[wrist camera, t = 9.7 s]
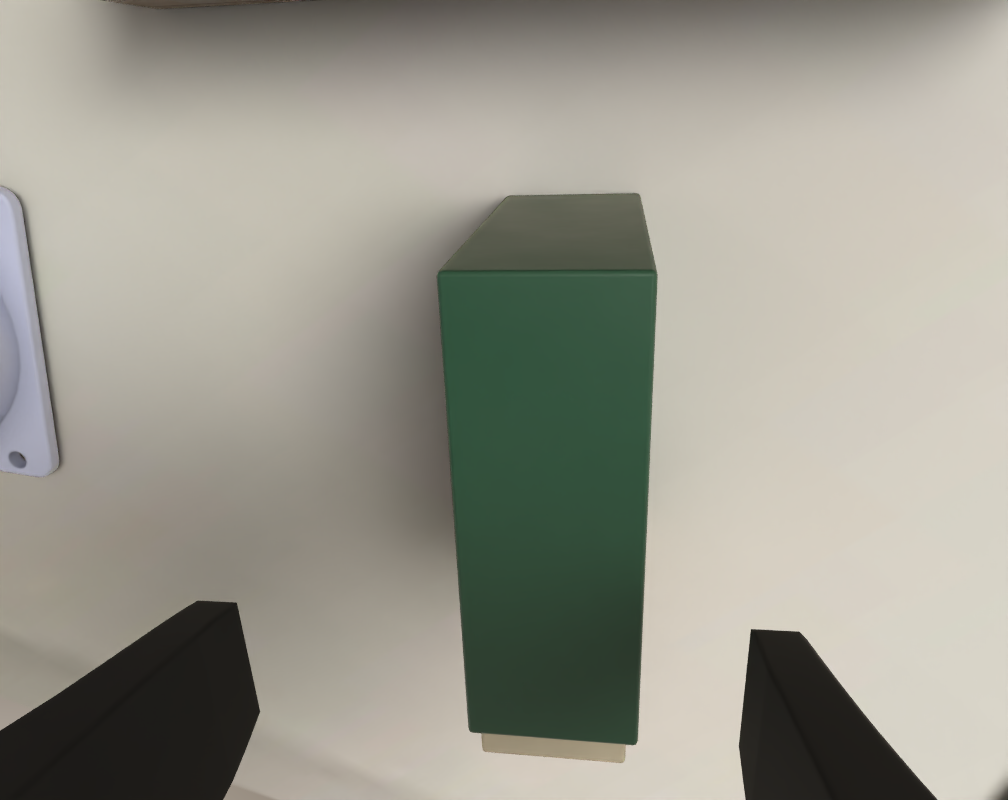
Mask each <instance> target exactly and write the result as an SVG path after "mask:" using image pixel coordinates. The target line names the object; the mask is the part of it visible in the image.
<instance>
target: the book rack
mask: <svg viewBox="0 0 1008 800" xmlns="http://www.w3.org/2000/svg"><path fill="white" fill-rule="evenodd" d="M103 1H109V2H116V3H122V4H129V5H135V6H142V7H148V8H155V9H167V8H185V7H203V6H221V5H239V4H257V3H275V2H293V1H311V0H103Z"/></svg>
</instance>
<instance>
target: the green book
mask: <svg viewBox="0 0 1008 800" xmlns="http://www.w3.org/2000/svg"><path fill="white" fill-rule="evenodd" d="M437 286H438V301H439V315H440V329H441V343H442V357H443V372H444V386H445V400H446V414H447V428H448V443H449V457H450V471H451V485H452V499H453V514H454V528H455V542H456V556H457V570H458V585H459V599H460V613H461V627H462V641H463V656H464V670H465V684H466V698H467V713H468V727H469V730H470V732H473V733H481V734H482V748H483V750H484V751H485V752H495V753H507V754H519V755H531V756H543V757H555V758H567V759H579V760H592V761H604V762H616V763H623V762H624V760H625V748H626V745H636V743H637V741H638V722H639V699H640V675H641V652H642V628H643V605H644V581H645V557H646V534H647V510H648V487H649V463H650V440H651V416H652V393H653V369H654V346H655V322H656V299H657V271H656V266H655V261H654V257H653V252H652V248H651V243H650V238H649V234H648V229H647V225H646V220H645V216H644V211H643V206H642V202H641V197H640V195H639V194H637V193H633V194H578V195H523V196H508V197H506V198H505V200H504V201H503V202H502V203H501V204H500V205H499V206H498V207H497V208H496V209H495V210H494V212H493V213H492V214H491V215H490V216H489V217H488V218H487V219H486V220H485V221H484V222H483V224H482V225H481V226H480V227H479V228H478V229H477V230H476V231H475V232H474V233H473V234H472V236H471V237H470V238H469V239H468V240H467V241H466V242H465V243H464V244H463V245H462V246H461V248H460V249H459V250H458V251H457V252H456V253H455V254H454V255H453V256H452V257H451V258H450V260H449V261H448V262H447V263H446V264H445V265H444V266H443V267H442V268H441V269H440V270H439V272H438V274H437Z"/></svg>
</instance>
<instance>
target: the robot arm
mask: <svg viewBox="0 0 1008 800" xmlns="http://www.w3.org/2000/svg"><path fill="white" fill-rule="evenodd" d="M19 453H21V454H22V455H23V456H24V457H25V459H26V460H24V459H23V458H22V457H21V456H20V454H19ZM58 466H59V454H58V447H57V441H56V434H55V427H54V421H53V414H52V407H51V400H50V394H49V387H48V380H47V373H46V367H45V360H44V353H43V346H42V340H41V333H40V326H39V319H38V313H37V306H36V299H35V292H34V286H33V279H32V272H31V265H30V259H29V252H28V245H27V238H26V232H25V225H24V218H23V211H22V207H21V204H20V201H19V200H18V198H17V197H16V196H15V194H14V193H12V192H11V191H10V190H9V189H7V188H4V187H1V186H0V471H3V472H9V473H15V474H21V475H27V476H33V477H45V476H47V475H49V474H51V473H52V472H54V471H55V470H56V469H57V468H58ZM259 713H260V709H259V704H258V700H257V695H256V690H255V686H254V681H253V676H252V672H251V667H250V662H249V658H248V653H247V648H246V644H245V639H244V634H243V630H242V625H241V620H240V616H239V611H238V606H237V603H233V602H213V601H196V602H195V603H193V604H191V605H190V606H188V607H186V608H185V609H183V610H181V611H180V612H178V613H177V614H175V615H174V616H172V617H171V618H169V619H168V620H166V621H165V622H163V623H162V624H160V625H159V626H157V627H156V628H154V629H153V630H151V631H150V632H148V633H147V634H145V635H144V636H142V637H141V638H140V639H138V640H137V641H135V642H134V643H132V644H131V645H129V646H128V647H126V648H125V649H124V650H122V651H121V652H119V653H118V654H116V655H115V656H113V657H112V658H110V659H109V660H107V661H106V662H105V663H103V664H102V665H100V666H99V667H97V668H96V669H94V670H93V671H91V672H90V673H88V674H87V675H85V676H84V677H82V678H81V679H79V680H78V681H76V682H75V683H74V684H72V685H71V686H69V687H68V688H66V689H65V690H63V691H62V692H60V693H59V694H57V695H56V696H54V697H53V698H51V699H50V700H48V701H46V702H45V703H43V704H42V705H40V706H38V707H37V708H35V709H34V710H32V711H31V712H29V713H27V714H26V715H24V716H23V717H21V718H20V719H18V720H16V721H15V722H13V723H12V724H10V725H9V726H7V727H5V728H4V729H2V730H1V731H0V800H223V799H224V797H225V795H226V793H227V791H228V789H229V787H230V785H231V783H232V781H233V779H234V777H235V774H236V772H237V770H238V767H239V765H240V762H241V760H242V757H243V755H244V753H245V750H246V748H247V745H248V742H249V740H250V737H251V734H252V732H253V729H254V726H255V724H256V721H257V718H258V716H259ZM739 750H740V758H741V766H742V774H743V782H744V790H745V798H746V800H937V799H936V797H935V796H934V795H933V794H932V793H931V792H930V791H929V790H928V789H927V787H926V786H925V785H924V784H923V783H922V782H921V781H920V780H919V778H918V777H917V776H916V775H915V774H914V773H913V772H912V770H911V769H910V768H909V767H908V766H907V765H906V763H905V762H904V761H903V760H902V759H901V758H900V756H899V755H898V754H897V753H896V752H895V750H894V749H893V748H892V747H891V746H890V745H889V743H888V742H887V741H886V740H885V739H884V738H883V736H882V735H881V734H880V733H879V732H878V730H877V729H876V728H875V727H874V726H873V724H872V723H871V722H870V721H869V719H868V718H867V717H866V716H865V715H864V713H863V712H862V711H861V710H860V708H859V707H858V706H857V704H856V703H855V702H854V701H853V699H852V698H851V697H850V696H849V694H848V693H847V692H846V691H845V689H844V688H843V687H842V685H841V684H840V683H839V682H838V680H837V679H836V678H835V676H834V675H833V674H832V672H831V671H830V670H829V668H828V667H827V666H826V665H825V663H824V662H823V661H822V659H821V658H820V657H819V655H818V654H817V653H816V651H815V650H814V648H813V647H812V646H811V644H810V643H809V642H808V640H807V639H806V638H805V637H804V636H803V635H802V634H801V633H800V632H794V631H774V630H755V629H751V634H750V644H749V654H748V663H747V673H746V683H745V692H744V702H743V712H742V721H741V731H740V741H739Z"/></svg>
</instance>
